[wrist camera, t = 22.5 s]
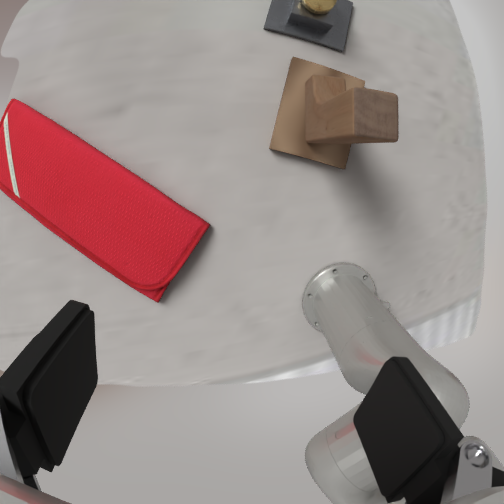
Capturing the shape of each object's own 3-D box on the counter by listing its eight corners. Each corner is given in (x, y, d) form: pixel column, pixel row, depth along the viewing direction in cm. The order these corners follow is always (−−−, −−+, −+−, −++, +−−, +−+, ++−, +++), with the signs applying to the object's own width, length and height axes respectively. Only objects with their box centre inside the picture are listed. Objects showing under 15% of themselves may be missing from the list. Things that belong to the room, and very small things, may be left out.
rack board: (361, 83, 38) (365, 81, 37) (341, 168, 42) (344, 169, 41) (291, 59, 37) (293, 56, 36) (269, 148, 41) (270, 148, 40)
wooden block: (304, 81, 37) (350, 38, 20) (335, 84, 37) (396, 48, 20) (304, 142, 40) (353, 137, 23) (335, 144, 40) (400, 142, 23)
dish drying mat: (159, 300, 48) (154, 311, 44) (-10, 175, 39) (-22, 178, 35) (211, 222, 44) (209, 228, 41) (22, 97, 35) (10, 95, 32)
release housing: (351, 4, 34) (360, -6, 30) (341, 52, 37) (351, 43, 33) (277, -19, 32) (281, -32, 28) (263, 29, 35) (266, 17, 31)
